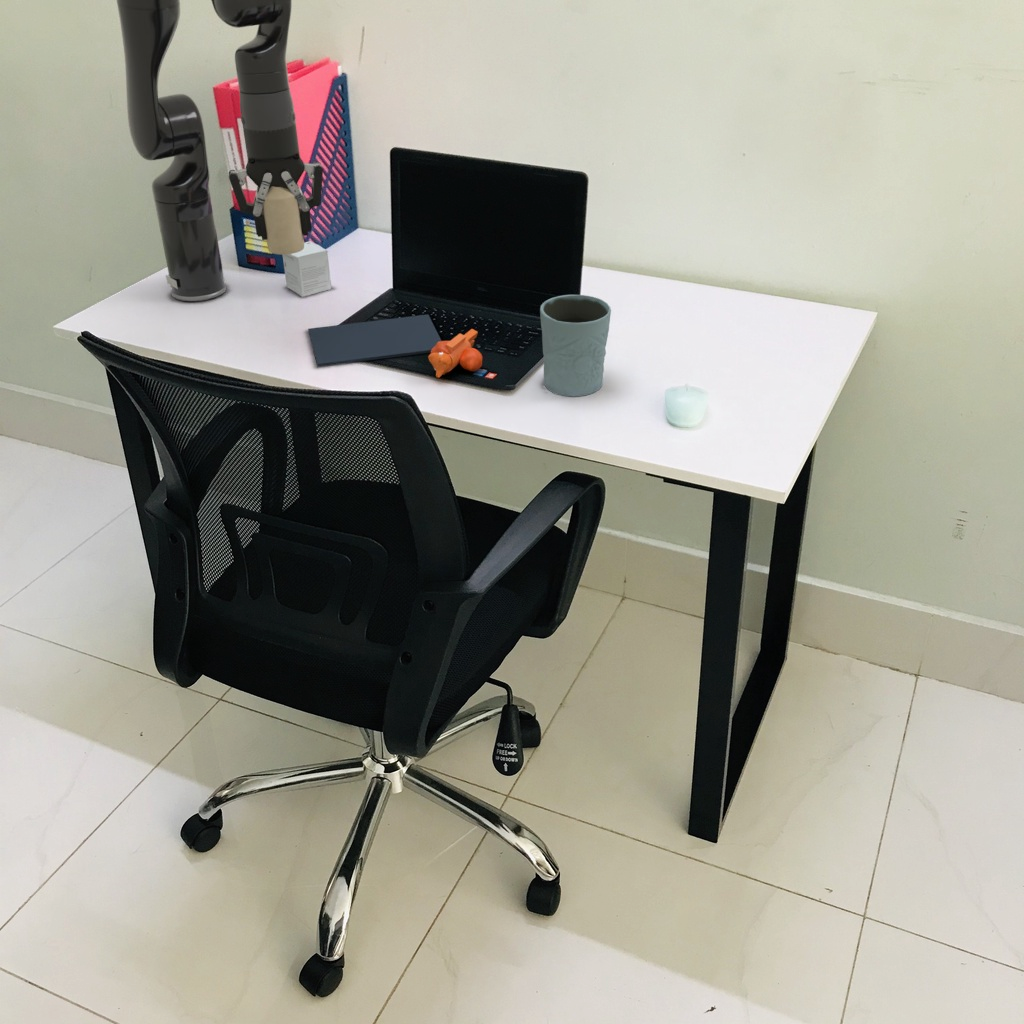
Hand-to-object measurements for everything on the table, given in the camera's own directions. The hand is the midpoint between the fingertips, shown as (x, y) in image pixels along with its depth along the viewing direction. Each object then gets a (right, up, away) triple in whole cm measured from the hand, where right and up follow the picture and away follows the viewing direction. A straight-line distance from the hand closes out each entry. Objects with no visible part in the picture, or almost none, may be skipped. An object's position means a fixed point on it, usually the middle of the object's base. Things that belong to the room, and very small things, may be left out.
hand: (284, 235), depth 169 cm
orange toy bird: (+27, -20, +1) cm, 34 cm away
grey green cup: (+44, -23, -5) cm, 50 cm away
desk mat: (+13, -14, +10) cm, 21 cm away
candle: (0, -2, +1) cm, 2 cm away
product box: (-2, -2, +29) cm, 30 cm away
